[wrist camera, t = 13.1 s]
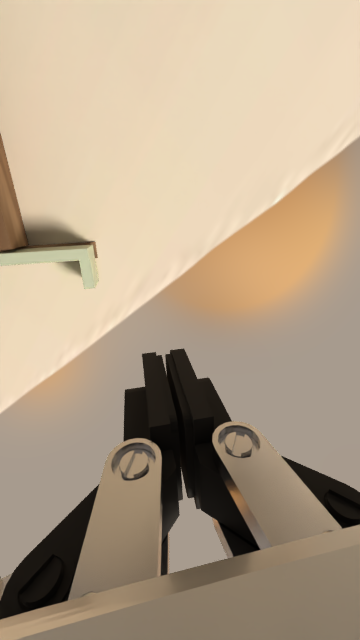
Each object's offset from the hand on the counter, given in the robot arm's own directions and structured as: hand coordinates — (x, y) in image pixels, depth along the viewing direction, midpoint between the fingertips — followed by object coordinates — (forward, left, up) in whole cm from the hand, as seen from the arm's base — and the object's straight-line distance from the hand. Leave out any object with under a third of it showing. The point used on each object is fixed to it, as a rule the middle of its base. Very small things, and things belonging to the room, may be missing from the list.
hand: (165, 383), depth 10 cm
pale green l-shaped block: (+9, -2, -20) cm, 22 cm away
